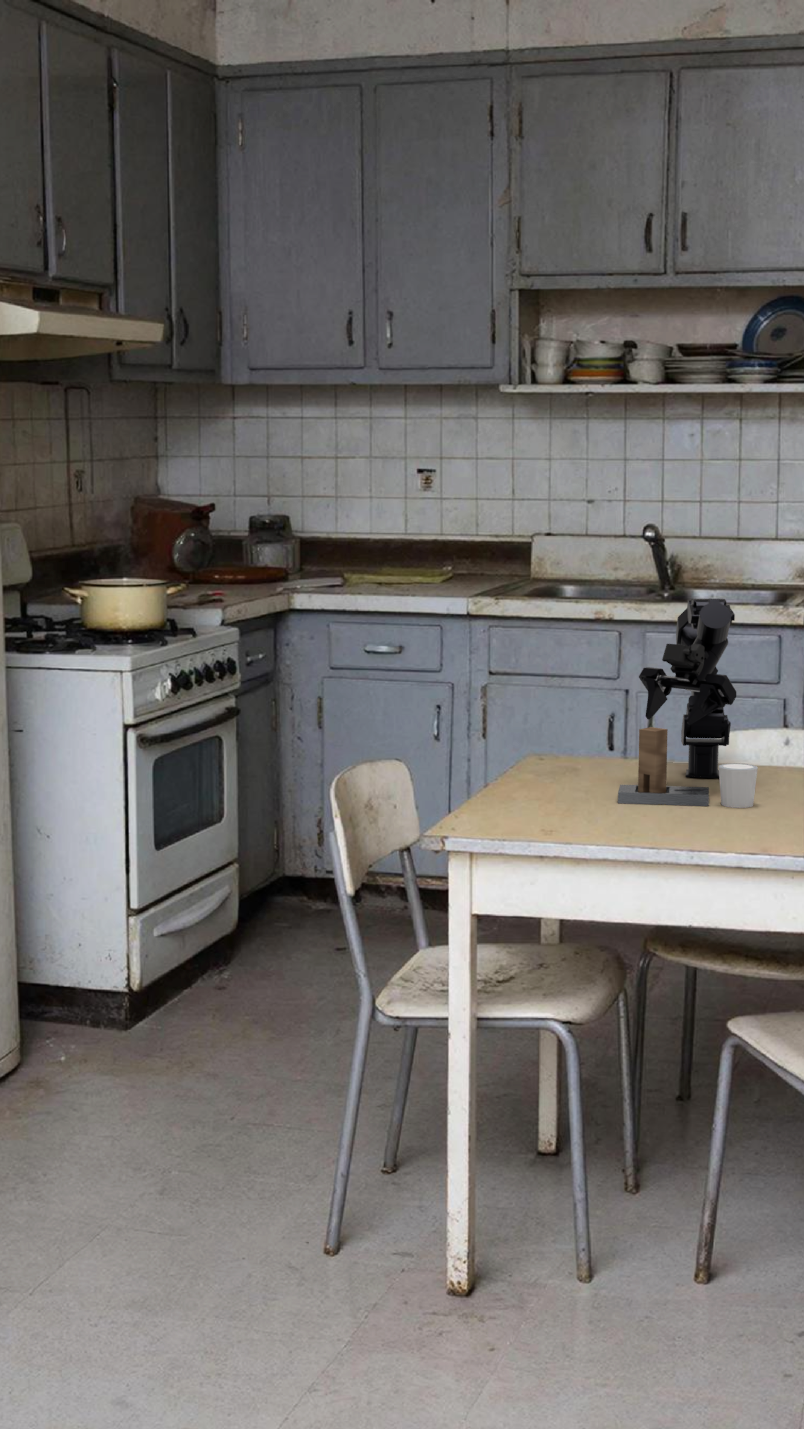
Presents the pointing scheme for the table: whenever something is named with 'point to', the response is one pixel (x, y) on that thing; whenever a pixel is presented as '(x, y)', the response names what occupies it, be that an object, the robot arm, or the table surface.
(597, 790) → the table surface
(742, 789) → the white cup
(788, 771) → the table surface
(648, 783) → the brown block
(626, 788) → the metal plate with hole
